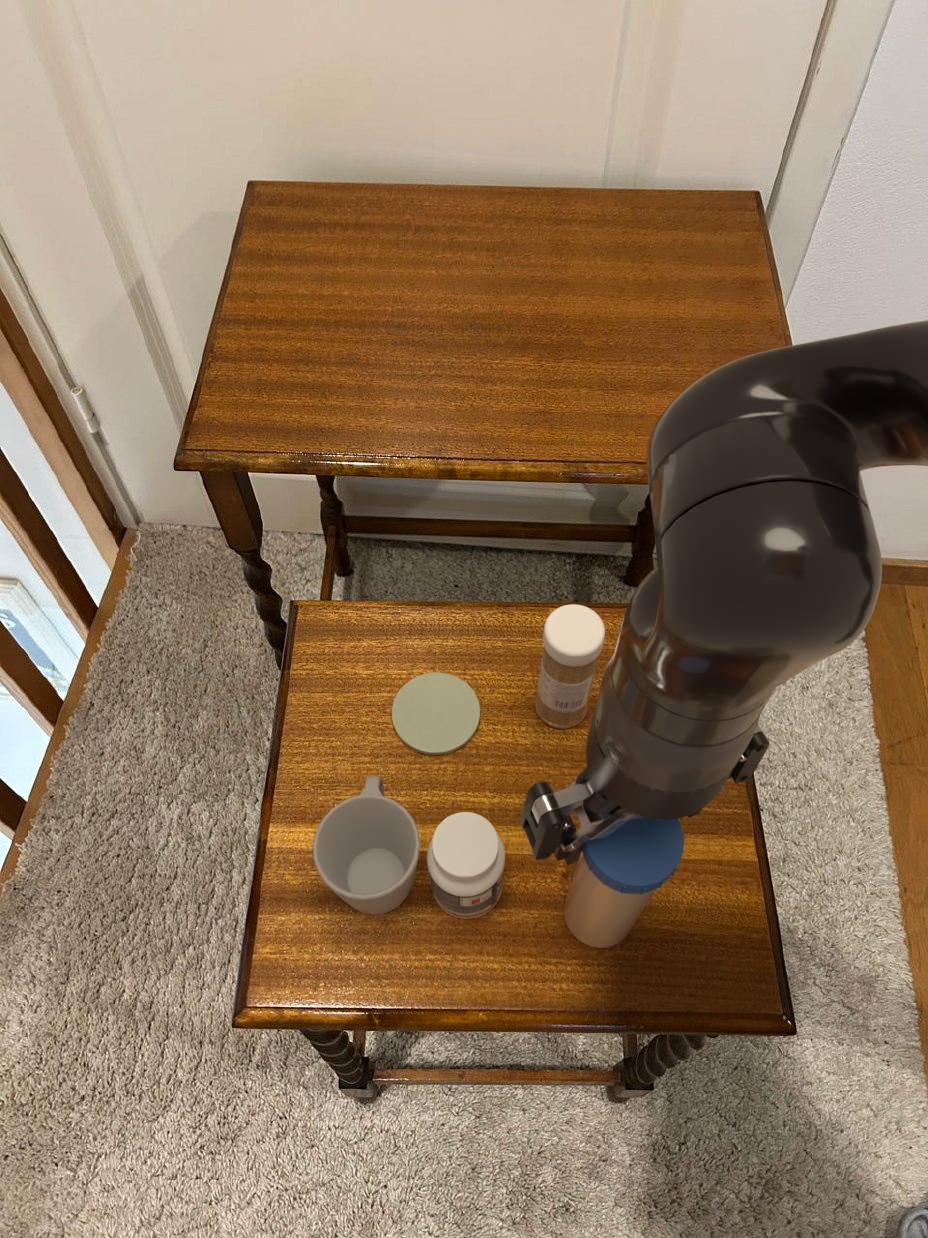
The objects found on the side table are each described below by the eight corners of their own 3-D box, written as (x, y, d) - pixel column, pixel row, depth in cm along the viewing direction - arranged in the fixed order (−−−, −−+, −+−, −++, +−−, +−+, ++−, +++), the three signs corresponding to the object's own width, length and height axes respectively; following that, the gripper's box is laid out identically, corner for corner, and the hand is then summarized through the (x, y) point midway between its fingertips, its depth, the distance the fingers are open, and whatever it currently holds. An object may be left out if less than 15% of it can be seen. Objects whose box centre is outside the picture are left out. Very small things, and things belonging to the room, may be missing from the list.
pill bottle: (514, 903, 72) (520, 866, 64) (445, 932, 71) (442, 898, 63) (486, 837, 75) (488, 792, 66) (419, 863, 74) (412, 821, 65)
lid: (604, 908, 56) (608, 900, 54) (566, 816, 59) (569, 806, 57) (695, 876, 57) (701, 867, 55) (653, 787, 60) (659, 776, 58)
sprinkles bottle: (591, 690, 82) (611, 609, 70) (580, 736, 79) (599, 661, 68) (540, 678, 82) (551, 596, 71) (528, 723, 80) (538, 646, 69)
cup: (323, 927, 71) (307, 898, 64) (334, 802, 77) (320, 762, 69) (423, 928, 71) (418, 900, 64) (427, 803, 76) (423, 763, 69)
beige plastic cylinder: (632, 878, 73) (674, 799, 58) (635, 950, 70) (680, 887, 55) (563, 875, 73) (587, 795, 58) (563, 946, 71) (588, 882, 55)
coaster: (491, 689, 82) (491, 685, 81) (464, 766, 78) (464, 763, 78) (409, 665, 83) (409, 662, 83) (379, 740, 79) (378, 737, 79)
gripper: (758, 613, 49) (696, 738, 63) (509, 701, 47) (501, 811, 61) (836, 735, 46) (752, 840, 60) (570, 838, 43) (547, 922, 57)
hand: (625, 825), depth 60 cm, fingers open, 8 cm apart
